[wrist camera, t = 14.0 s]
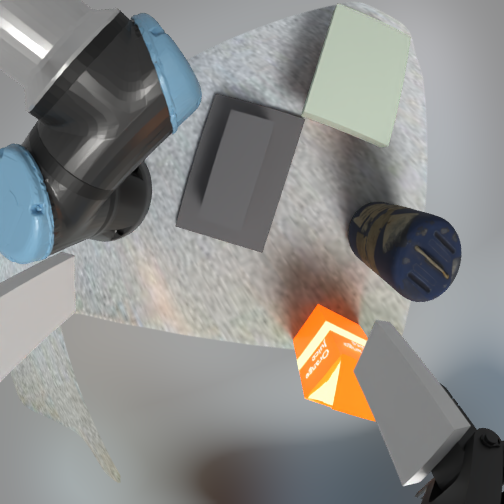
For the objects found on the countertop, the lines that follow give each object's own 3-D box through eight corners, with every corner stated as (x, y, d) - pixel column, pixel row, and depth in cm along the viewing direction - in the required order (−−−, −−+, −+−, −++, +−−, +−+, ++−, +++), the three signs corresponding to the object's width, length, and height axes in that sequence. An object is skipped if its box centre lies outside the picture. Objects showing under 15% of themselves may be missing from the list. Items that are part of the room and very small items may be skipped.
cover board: (300, 116, 32) (303, 111, 30) (333, 11, 28) (337, 3, 25) (380, 147, 33) (388, 146, 30) (403, 43, 28) (410, 37, 26)
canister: (377, 188, 40) (447, 196, 22) (410, 234, 41) (481, 265, 24) (332, 229, 42) (381, 264, 24) (368, 274, 43) (424, 326, 26)
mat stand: (177, 225, 42) (164, 233, 35) (216, 95, 37) (209, 81, 31) (262, 250, 42) (262, 263, 36) (303, 120, 38) (312, 110, 31)
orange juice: (333, 358, 47) (365, 443, 28) (292, 340, 46) (309, 429, 27) (360, 324, 45) (408, 401, 26) (318, 302, 44) (354, 382, 25)
